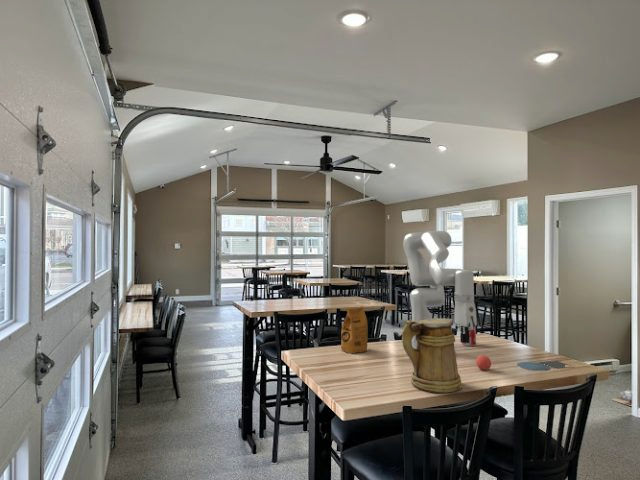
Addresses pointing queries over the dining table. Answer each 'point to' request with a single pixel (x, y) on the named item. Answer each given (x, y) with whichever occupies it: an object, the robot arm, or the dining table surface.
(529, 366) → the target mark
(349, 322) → the coffee package
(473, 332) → the soda can
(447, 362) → the tankard
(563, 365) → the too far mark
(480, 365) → the ball
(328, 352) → the dining table surface
